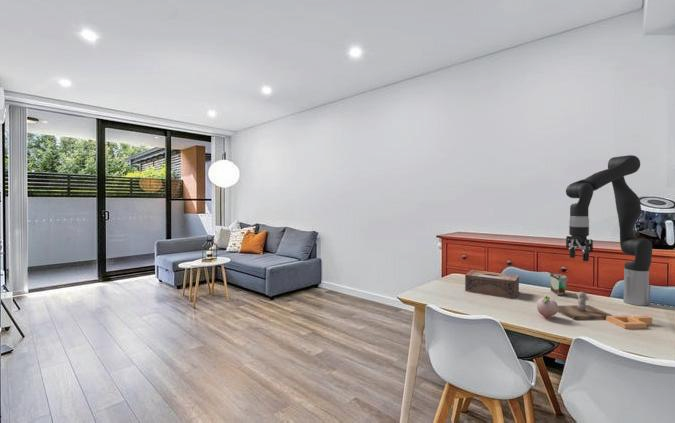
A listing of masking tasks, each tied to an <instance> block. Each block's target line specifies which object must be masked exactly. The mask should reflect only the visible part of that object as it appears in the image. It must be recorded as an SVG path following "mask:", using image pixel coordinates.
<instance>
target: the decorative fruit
mask: <svg viewBox="0 0 675 423" xmlns="http://www.w3.org/2000/svg"><path fill="white" fill-rule="evenodd" d="M558 306H559V304H558V303H557V302H556V301H555V300H554V299H552V298H551V297H549V296H547V295H546V296H543V297H541V298H539V299H538V300H537V301H536V309H537V311H538V313H539V314H540V315H541V316H542V317H544V318H546V319H547V318H550V317H553V316H555V315H556V314H557V313H559V312H558Z"/></svg>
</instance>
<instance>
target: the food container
mask: <svg viewBox="0 0 675 423" xmlns="http://www.w3.org/2000/svg"><path fill="white" fill-rule="evenodd" d="M549 278H550V280H549V282H550V292H551V293H554V294H555V295H556V296H558V297H561V296H565V295H566V289H567V288H566V287H567V282H568V281H569V280H568V277H567V276H566V275H563V274H561V273H560V274H558V273H549Z"/></svg>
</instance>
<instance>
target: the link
mask: <svg viewBox="0 0 675 423" xmlns="http://www.w3.org/2000/svg"><path fill="white" fill-rule="evenodd" d="M605 321H607V322H609V323H611V324H614V325H615V326H618V327H619V328H622V329H625V330H627V329H628V330H632V329H633V330H634V329H647V327H648V326H649V325H650V326H651V325H652V326H653V317H651V316H649V315H633V317H632V316H629V315H613V316H606V319H605Z"/></svg>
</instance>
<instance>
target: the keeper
mask: <svg viewBox="0 0 675 423" xmlns="http://www.w3.org/2000/svg"><path fill="white" fill-rule="evenodd" d="M576 296H577V298H578V299H577V304H575V305H574V304H573V305H558V312H557V313H559V314H561V315H564V316H566V317H568V318H570V319H572V320H573V321H575V320H576V321H577V320H579V321H580V320H583V321H584V320H606V316H614V315H613V314H611V313H609V312H607V311H605V310H604V311H603V310H601V309H599V308H597V307H594V306H592V305H590V304H586V303H587V302H586V300H587V298H588V295H587V293H586V292H584V291H579V292H577V295H576Z"/></svg>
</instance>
